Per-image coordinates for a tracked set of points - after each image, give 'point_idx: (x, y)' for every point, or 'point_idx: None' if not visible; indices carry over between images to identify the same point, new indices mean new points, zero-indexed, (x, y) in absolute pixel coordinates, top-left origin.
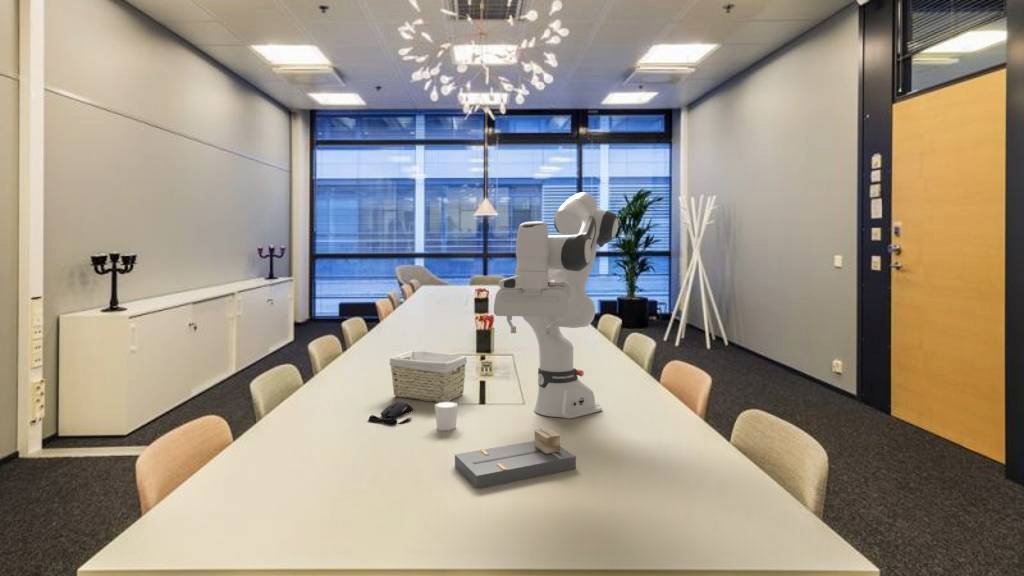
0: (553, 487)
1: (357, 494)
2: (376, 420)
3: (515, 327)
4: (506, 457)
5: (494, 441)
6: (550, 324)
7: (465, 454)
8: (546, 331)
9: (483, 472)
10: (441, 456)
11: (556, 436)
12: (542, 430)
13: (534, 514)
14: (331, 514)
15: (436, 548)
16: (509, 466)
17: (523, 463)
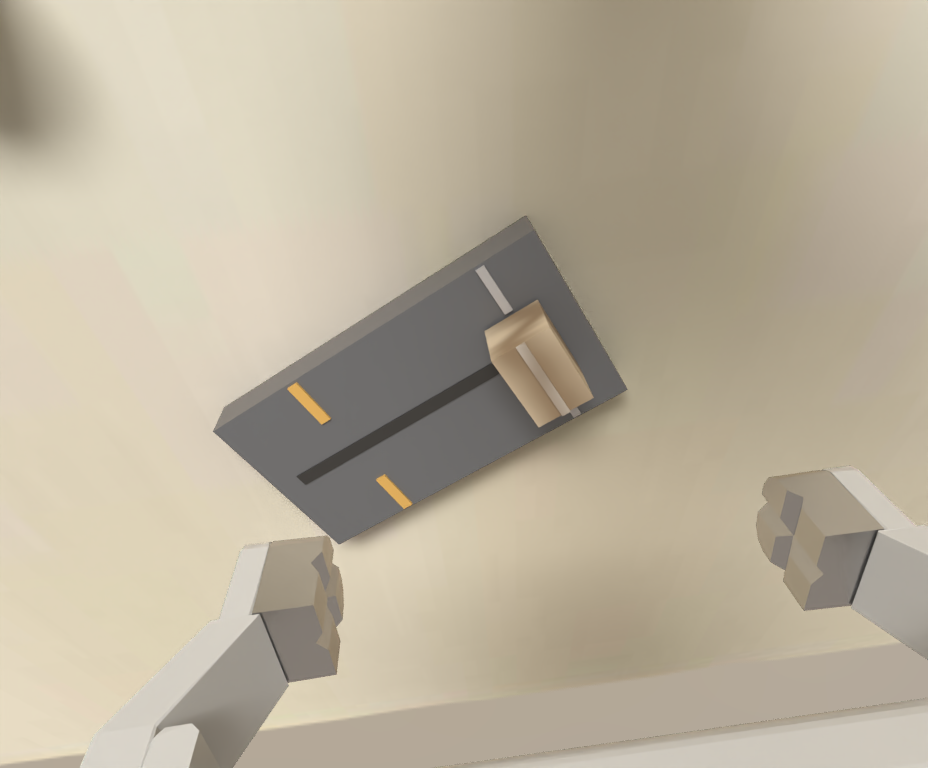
0: (540, 483)
1: (58, 579)
2: None
3: (327, 665)
4: (396, 431)
5: (282, 142)
6: (910, 618)
7: (249, 426)
8: (776, 561)
9: (351, 526)
10: (134, 336)
11: (578, 404)
12: (524, 361)
13: (496, 587)
14: (74, 645)
15: (338, 688)
16: (417, 483)
17: (457, 460)
